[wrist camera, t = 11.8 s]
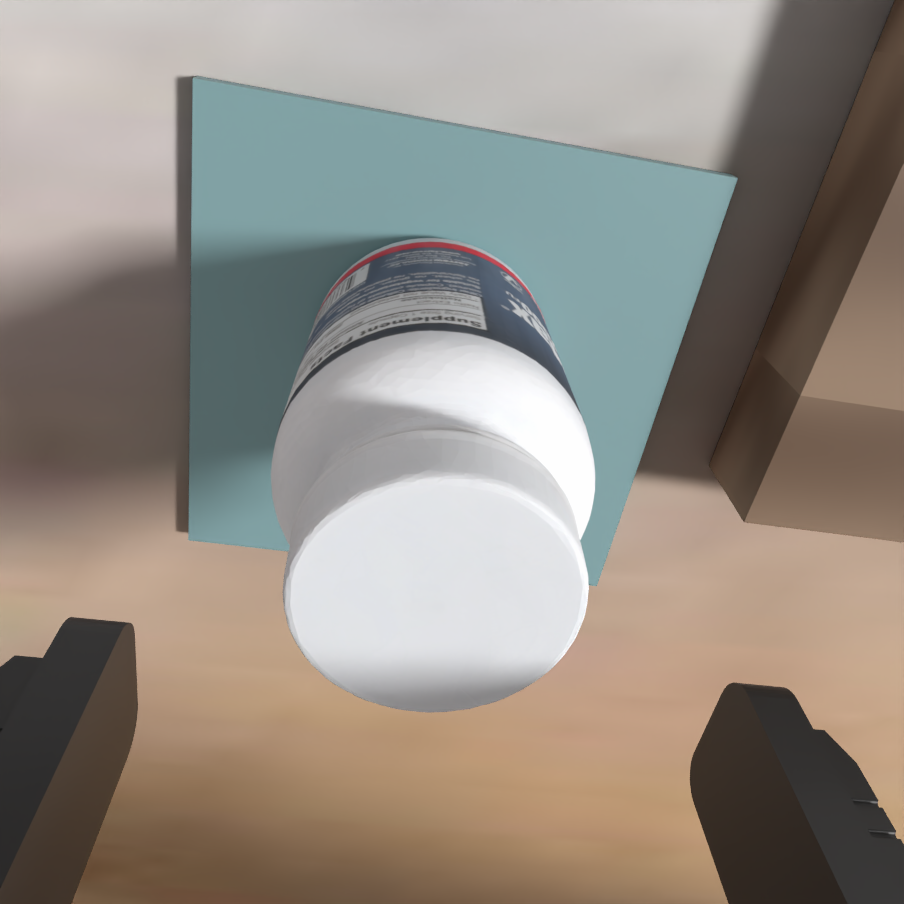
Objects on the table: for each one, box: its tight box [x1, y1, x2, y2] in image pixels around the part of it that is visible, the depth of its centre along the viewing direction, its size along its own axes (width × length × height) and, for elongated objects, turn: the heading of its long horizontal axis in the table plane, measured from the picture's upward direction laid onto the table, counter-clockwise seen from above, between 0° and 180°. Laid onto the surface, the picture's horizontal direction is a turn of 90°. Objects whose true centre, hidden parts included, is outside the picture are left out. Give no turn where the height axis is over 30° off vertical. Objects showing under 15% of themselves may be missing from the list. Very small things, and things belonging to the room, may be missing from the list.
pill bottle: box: [271, 238, 595, 712], centre depth 14 cm, size 5×5×9 cm
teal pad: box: [189, 76, 738, 586], centre depth 18 cm, size 11×11×1 cm
